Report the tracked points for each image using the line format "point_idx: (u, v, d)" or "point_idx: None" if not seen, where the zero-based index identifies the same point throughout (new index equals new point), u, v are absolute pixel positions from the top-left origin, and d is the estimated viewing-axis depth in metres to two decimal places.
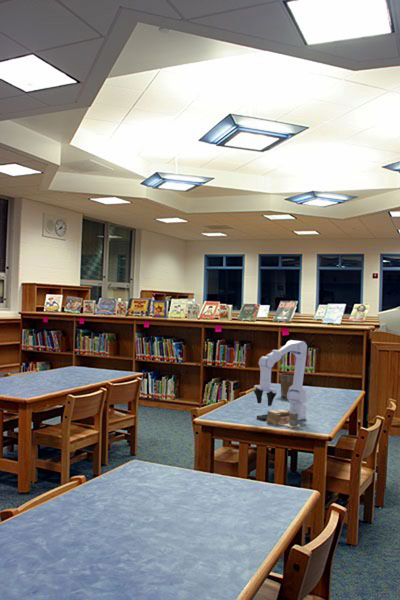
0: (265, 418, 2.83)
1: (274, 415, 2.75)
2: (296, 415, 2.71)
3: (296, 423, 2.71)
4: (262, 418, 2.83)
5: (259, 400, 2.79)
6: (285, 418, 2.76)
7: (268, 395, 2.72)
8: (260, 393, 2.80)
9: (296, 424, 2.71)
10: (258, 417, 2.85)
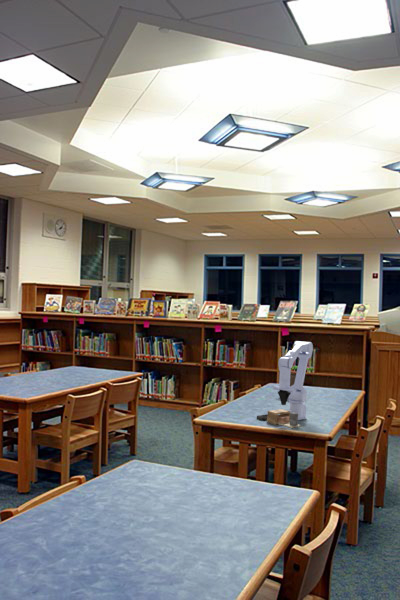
0: (265, 418, 2.83)
1: (274, 415, 2.75)
2: (296, 415, 2.71)
3: (296, 423, 2.71)
4: (262, 418, 2.83)
5: None
6: (285, 418, 2.76)
7: (282, 394, 2.76)
8: None
9: (296, 424, 2.71)
10: (258, 417, 2.85)
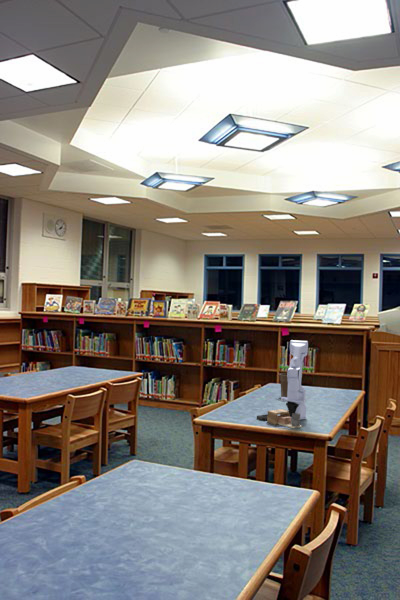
0: (265, 418, 2.83)
1: (274, 415, 2.75)
2: (298, 415, 2.70)
3: (298, 424, 2.70)
4: (262, 418, 2.83)
5: (291, 413, 2.73)
6: (287, 418, 2.75)
7: (291, 406, 2.70)
8: None
9: (298, 425, 2.70)
10: (258, 417, 2.85)
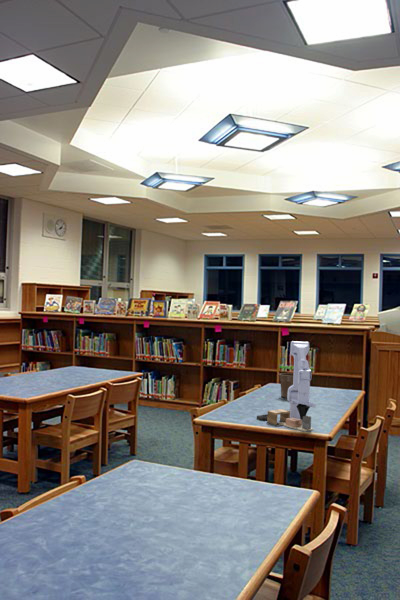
0: (265, 418, 2.83)
1: (274, 415, 2.75)
2: (309, 418, 2.64)
3: (309, 426, 2.64)
4: (262, 418, 2.83)
5: None
6: (297, 421, 2.69)
7: (302, 409, 2.65)
8: None
9: (309, 427, 2.64)
10: (258, 417, 2.85)
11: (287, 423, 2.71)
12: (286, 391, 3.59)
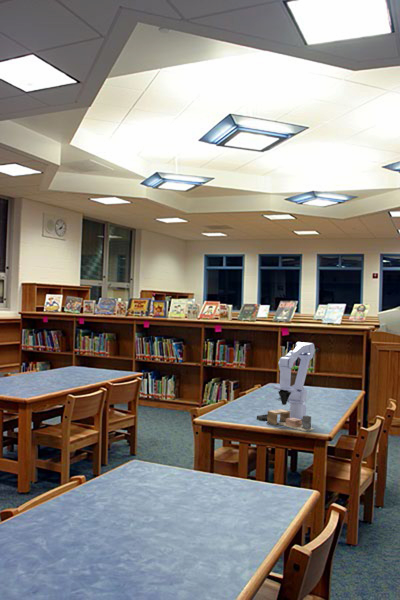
0: (265, 418, 2.83)
1: (274, 415, 2.75)
2: (309, 418, 2.64)
3: (309, 426, 2.64)
4: (262, 418, 2.83)
5: None
6: (298, 421, 2.69)
7: (283, 394, 2.78)
8: None
9: (309, 427, 2.64)
10: (258, 417, 2.85)
11: (287, 423, 2.71)
12: None
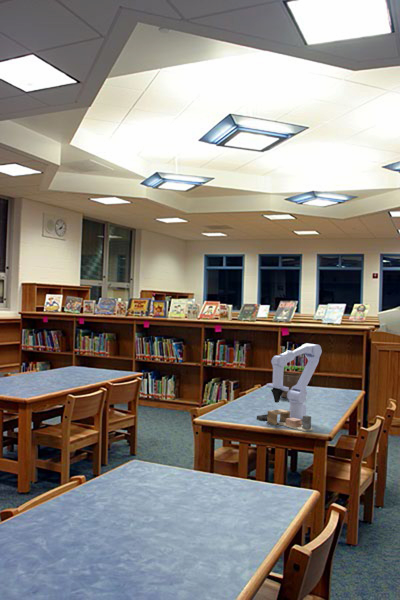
0: (265, 418, 2.83)
1: (274, 415, 2.75)
2: (309, 418, 2.64)
3: (309, 426, 2.64)
4: (262, 418, 2.83)
5: None
6: (298, 421, 2.69)
7: (276, 392, 2.83)
8: None
9: (309, 427, 2.64)
10: (258, 417, 2.85)
11: (287, 423, 2.71)
12: (286, 391, 3.59)
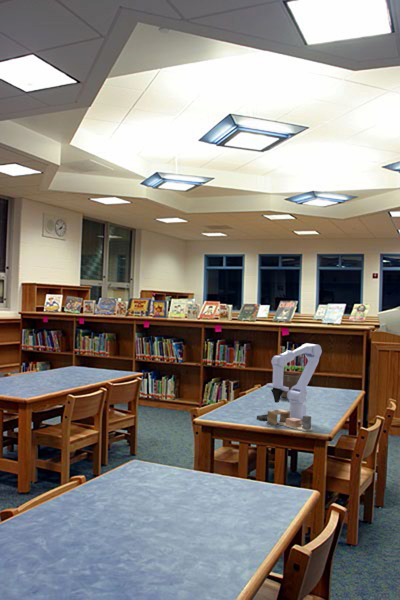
0: (265, 418, 2.83)
1: (274, 415, 2.75)
2: (309, 418, 2.64)
3: (309, 426, 2.64)
4: (262, 418, 2.83)
5: None
6: (298, 421, 2.69)
7: (276, 392, 2.83)
8: None
9: (309, 427, 2.64)
10: (258, 417, 2.85)
11: (287, 423, 2.71)
12: (286, 391, 3.59)
